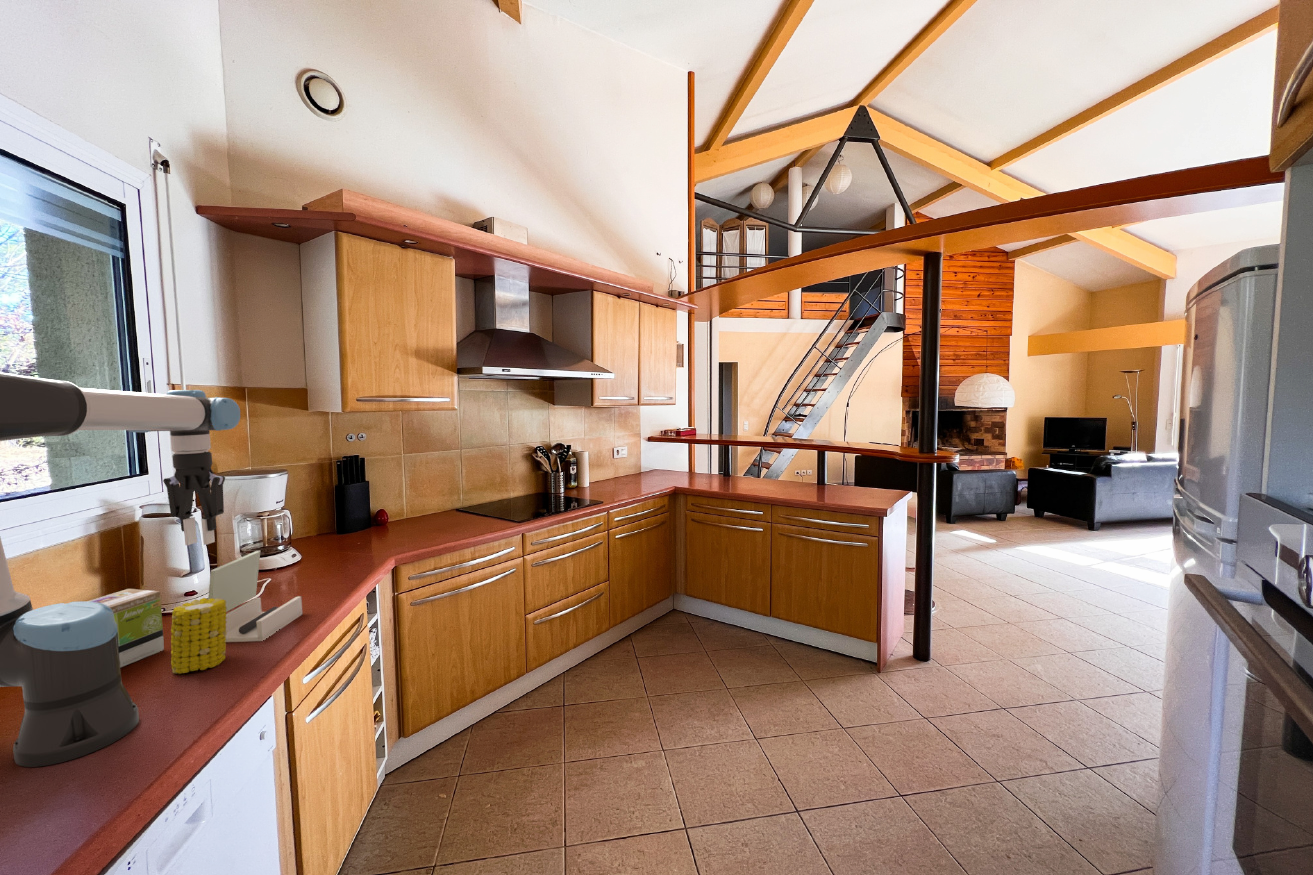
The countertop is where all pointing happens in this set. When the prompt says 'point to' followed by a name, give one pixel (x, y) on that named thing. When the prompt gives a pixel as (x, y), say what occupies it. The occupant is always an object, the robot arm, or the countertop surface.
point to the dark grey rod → (254, 622)
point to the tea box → (136, 623)
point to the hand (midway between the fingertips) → (200, 543)
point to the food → (198, 635)
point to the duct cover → (235, 580)
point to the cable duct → (260, 620)
